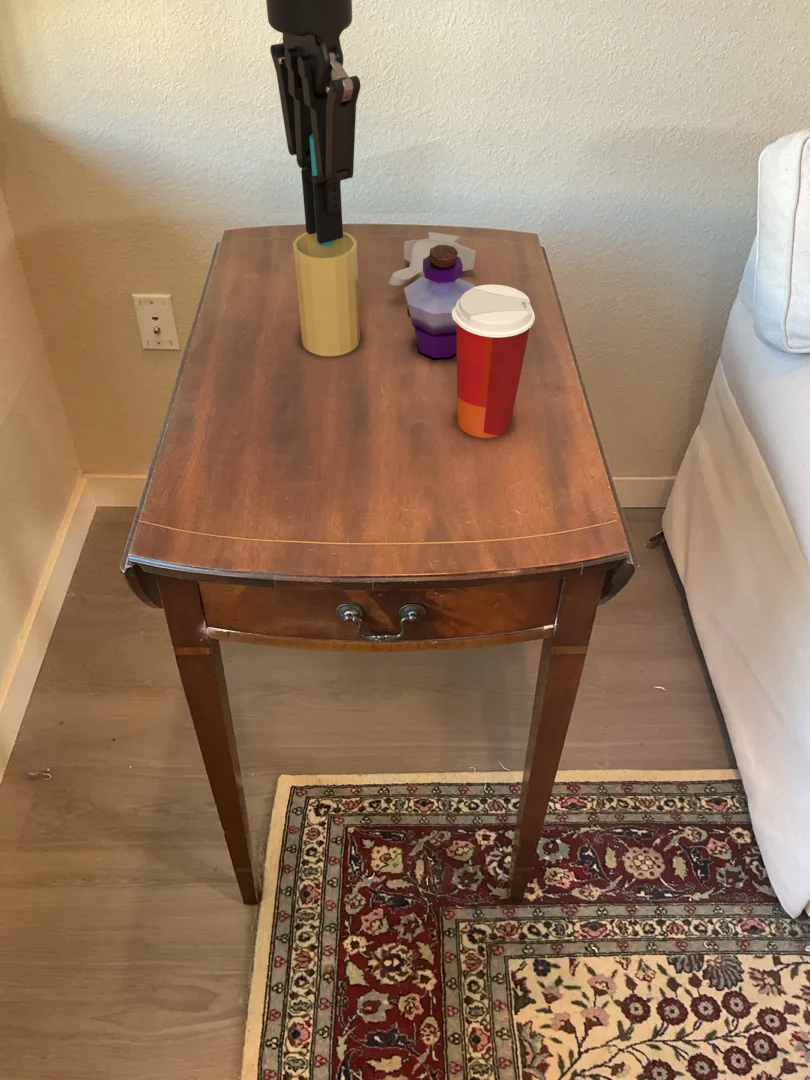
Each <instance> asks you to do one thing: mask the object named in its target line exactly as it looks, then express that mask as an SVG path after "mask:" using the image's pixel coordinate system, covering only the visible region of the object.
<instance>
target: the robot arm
mask: <svg viewBox="0 0 810 1080" xmlns="http://www.w3.org/2000/svg"><path fill="white" fill-rule="evenodd" d="M265 4H266V11H267V13H266V14H267V21H268V24H269V26H270V27H271V28H272V29H273V30H275V31H276V32H278V33H281V34H282V42H280V43H275V44H271V45H270V50H269V51H270V55H271V58H272V62H273V65H274V69H275V73H276V79H277V87H278V92H279V99H280V106H281V111H282V118H283V124H284V125H283V126H284V131H285V138H286V143H287V144H286V145H287V151H288V153H289V155H290V156H296V163H297V166H298V168H300V169H301V170H300V171H301V184H302V197H303V209H304V220H305V221H304V222H305V233H306V232H307V233H308V234H309V235H310V234H314V233H316V230H317V241H318V242H319V243H320V244H322V243H326V242H329V241H333V240H336V239H340V238H343V232H344V229H343V226H344V225H343V212H342V210H343V207H342V206H343V205H342V187H341V183H342V182H341V181H344V180H348V179H352V178H353V177H354V167H355V166H354V164H355V141H356V140H355V139H356V119H357V117H356V115H357V102H358V98H359V95H360V91H361V80H360V77H358V75H352V76H349V75H348V74H347V72H346V69H344V53H343V49H342V44H341V39H340V37H341V35H342V33H343V31H344V30H346V29H348V28H349V27H350V25H351V24H352V22H353V0H265ZM312 134H313V142H314V151H315V160H316V169H317V175H316V176H312V166H311V153H310V139H309V137H310V135H312ZM313 189H314V193H313ZM314 203H315V207H314ZM315 216H316V220H315Z"/></svg>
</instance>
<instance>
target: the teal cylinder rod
mask: <svg viewBox="0 0 810 1080" xmlns="http://www.w3.org/2000/svg"><path fill="white" fill-rule="evenodd" d="M309 139H310V153H311V166H312V176H316V175H317V169H316V160H315V151H314V142H313V134H312V135H310V137H309ZM313 193H314V189H313ZM314 207H315V203H314ZM315 220H316V216H315ZM316 234H317V230H316ZM317 243H318V245H320V246H330V245H332V244H333V243H334V240H333V241H329V242H326V243H322V244H320V243H319V242H318V241H317Z"/></svg>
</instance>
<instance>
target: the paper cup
mask: <svg viewBox="0 0 810 1080" xmlns="http://www.w3.org/2000/svg"><path fill="white" fill-rule="evenodd" d="M452 317H453V320H454V321H455V322H456V323H457V356H456V415H457V416H456V417H457V418H456V419H457V424H458V427H459V428H460V429H461V430H462V431H463V432H464V433H466V434H467V435H469V436H472V437H475V438H480V439H490V438H496V437H499V436H502V435H503V434H505V433H506V432H507V431H508V430H509V428H510V426H511V422H512V417H513V415H514V414H513V413H514V409H515V404H516V399H517V394H518V389H519V385H520V384H519V383H520V378H521V375H522V368H523V365H524V359H525V353H526V348H527V345H528V344H527V343H528V338H529V334H530V329H531V327H532V326H533V325H534V323H535V319H536V315H535V312H534V310H533V308H532V305H531V300H530V298H529V297H528V295H526V294H525V293H524V292H523V291H521V290H519V289H518V288H515V287H511V286H508V285H502V284H482V285H477V286H475V287H474V288H472V289H470V290H468V291H467V292H465V293H464V294H463V295H462V297H461V298H460V299H459V300H458V301H457V303H456V306H455V307H454V308H453V310H452Z"/></svg>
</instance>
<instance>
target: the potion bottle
mask: <svg viewBox="0 0 810 1080" xmlns="http://www.w3.org/2000/svg"><path fill="white" fill-rule="evenodd" d="M457 254H458V252H457V250H456V249H455V248H454V247H452V246H449V245H437V246H435V247H433V248H431V249H430V255H429V256H428V257H426V258H425V259H423V273H424V276H425V277H420V278H419V279H417V280H416V281H414V282H413V283H412V282H410V284H409V285H406V287H404V288H403V291H404V295H405V300H406V304H407V305H406V306H407V307H406V309H407V310H406V312H407V317H408V318H409V319H410V321H411V324H412V325H411V326H412V327H413V328H414V333H415V338H416V343H415V345H416V349H417V353H418V355H421V356H423V357H425V358H427V359H429V360H431V361H442V360H443V361H444V360H453V359H455V357H457V323H456V322H455V321H454V320H453V317H452V310H453V308H454V307H455V306H456V303H457V301H458V300H459V299H460V298H461V297H462V295H463V294H464V293H465V292H467V291H468V290H470V289H472V288H474V287H476V285H475V284H474V283H473V282H470V281H467V280H465V279H462V278H461V277H463V271H462V270H463V264H462V261H461V259H460V257H457Z"/></svg>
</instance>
